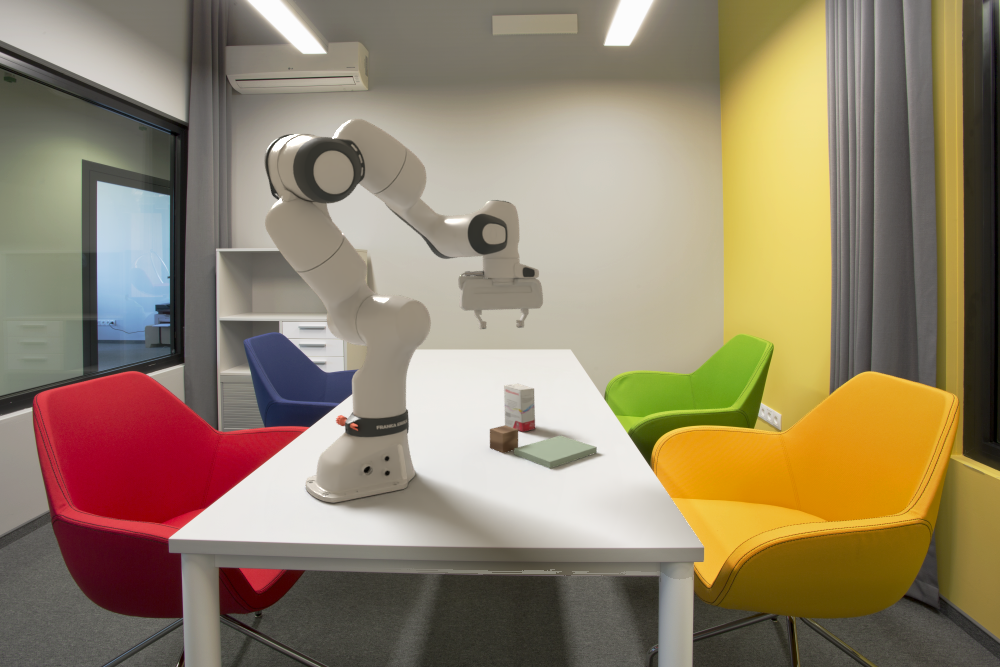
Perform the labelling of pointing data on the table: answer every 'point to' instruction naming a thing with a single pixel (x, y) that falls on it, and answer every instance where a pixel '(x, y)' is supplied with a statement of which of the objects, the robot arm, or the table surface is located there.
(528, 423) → the ink box
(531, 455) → the sage board
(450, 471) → the table surface
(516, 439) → the walnut cube
